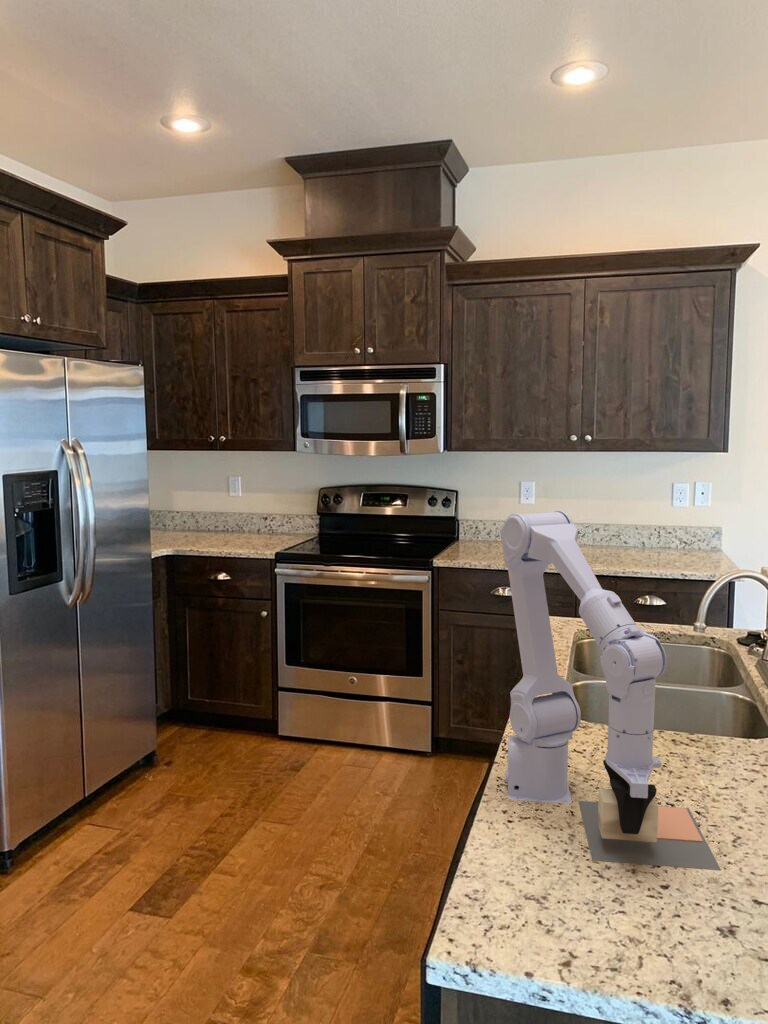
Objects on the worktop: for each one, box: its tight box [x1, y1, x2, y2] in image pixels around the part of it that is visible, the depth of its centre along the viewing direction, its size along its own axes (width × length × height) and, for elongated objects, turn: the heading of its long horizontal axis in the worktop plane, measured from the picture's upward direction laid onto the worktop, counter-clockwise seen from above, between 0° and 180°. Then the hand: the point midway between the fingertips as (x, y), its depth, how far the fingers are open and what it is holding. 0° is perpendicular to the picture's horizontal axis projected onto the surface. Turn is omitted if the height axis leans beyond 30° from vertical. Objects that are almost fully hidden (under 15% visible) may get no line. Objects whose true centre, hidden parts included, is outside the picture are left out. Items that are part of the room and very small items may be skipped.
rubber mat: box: [578, 800, 722, 872], centre depth 104 cm, size 16×16×1 cm
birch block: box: [598, 787, 659, 842], centre depth 101 cm, size 7×4×5 cm, turn 82°
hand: (626, 823), depth 101 cm, fingers closed on birch block, 4 cm apart
